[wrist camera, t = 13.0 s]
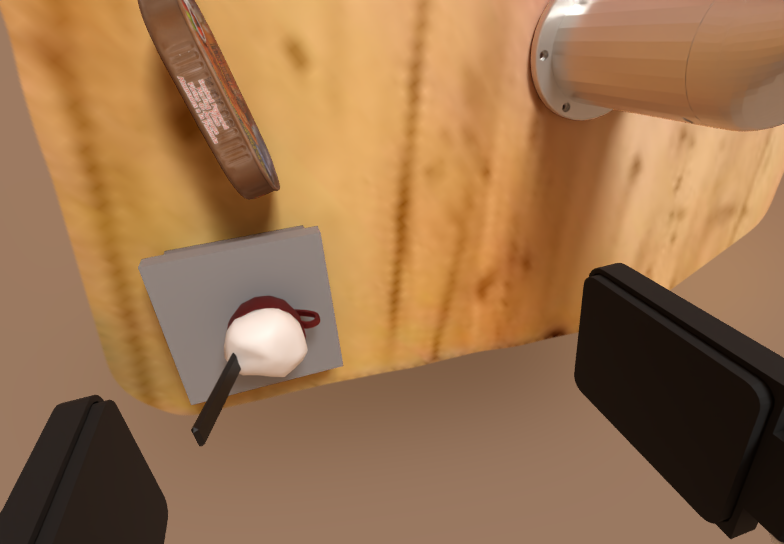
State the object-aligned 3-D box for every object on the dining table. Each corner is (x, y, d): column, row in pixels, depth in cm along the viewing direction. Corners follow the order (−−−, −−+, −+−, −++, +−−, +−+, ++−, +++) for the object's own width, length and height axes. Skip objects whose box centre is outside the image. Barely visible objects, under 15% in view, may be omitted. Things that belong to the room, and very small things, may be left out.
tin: (279, 173, 40) (289, 202, 33) (245, 187, 40) (247, 219, 33) (186, -23, 33) (171, -41, 25) (143, -7, 32) (116, -21, 25)
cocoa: (316, 288, 41) (352, 365, 30) (305, 349, 43) (336, 441, 33) (199, 282, 37) (195, 368, 27) (194, 349, 39) (189, 453, 29)
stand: (311, 213, 42) (320, 232, 38) (333, 337, 49) (343, 365, 45) (148, 242, 39) (138, 267, 35) (195, 371, 46) (191, 405, 42)
